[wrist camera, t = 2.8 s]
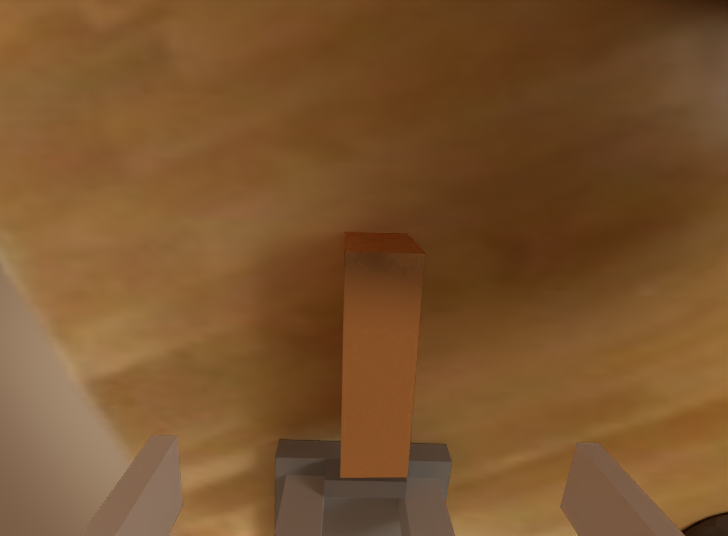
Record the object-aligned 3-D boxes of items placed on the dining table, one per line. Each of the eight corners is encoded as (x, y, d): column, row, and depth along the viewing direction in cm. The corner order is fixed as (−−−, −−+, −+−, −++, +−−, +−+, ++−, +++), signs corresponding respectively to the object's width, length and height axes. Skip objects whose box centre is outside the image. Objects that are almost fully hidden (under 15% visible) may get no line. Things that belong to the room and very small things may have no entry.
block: (345, 231, 20) (344, 251, 16) (407, 232, 21) (425, 253, 16) (341, 414, 24) (340, 477, 19) (395, 414, 24) (407, 477, 19)
